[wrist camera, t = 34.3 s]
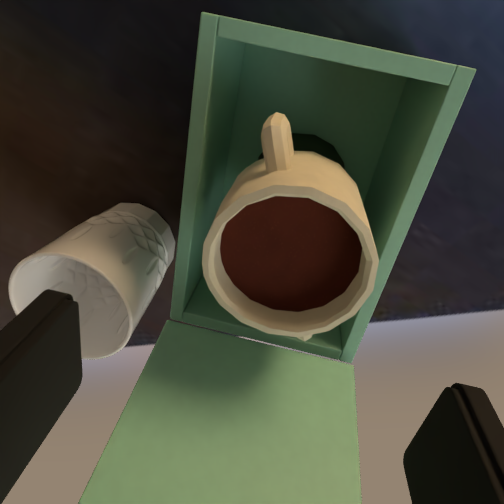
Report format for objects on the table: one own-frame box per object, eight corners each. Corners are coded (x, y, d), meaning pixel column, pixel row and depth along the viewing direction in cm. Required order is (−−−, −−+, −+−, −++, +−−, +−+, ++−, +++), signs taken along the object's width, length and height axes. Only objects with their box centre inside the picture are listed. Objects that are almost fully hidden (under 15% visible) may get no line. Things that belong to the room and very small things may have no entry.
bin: (237, 25, 24) (200, 11, 16) (423, 64, 23) (477, 68, 15) (205, 254, 32) (169, 319, 24) (342, 286, 31) (351, 363, 23)
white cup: (202, 249, 31) (158, 325, 23) (140, 294, 34) (81, 376, 26) (133, 174, 29) (55, 227, 20) (74, 230, 32) (-16, 296, 24)
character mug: (234, 103, 25) (166, 146, 14) (345, 83, 23) (373, 111, 12) (262, 250, 30) (229, 373, 18) (356, 241, 28) (384, 369, 17)
